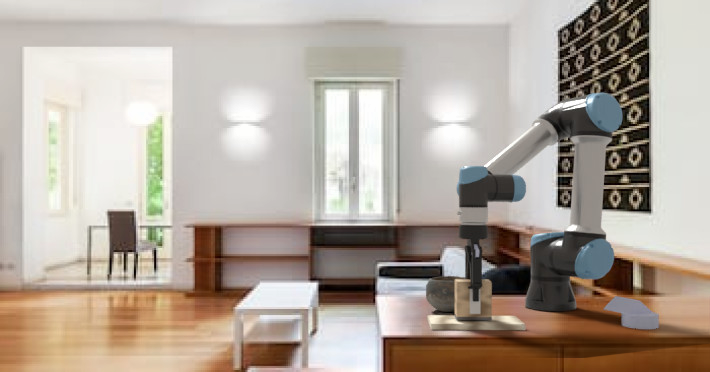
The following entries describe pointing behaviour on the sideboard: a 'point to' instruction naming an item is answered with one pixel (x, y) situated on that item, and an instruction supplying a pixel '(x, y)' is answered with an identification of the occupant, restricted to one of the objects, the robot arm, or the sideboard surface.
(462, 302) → the block
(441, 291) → the bowl
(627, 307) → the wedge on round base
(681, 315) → the sideboard surface
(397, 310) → the sideboard surface
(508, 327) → the board
